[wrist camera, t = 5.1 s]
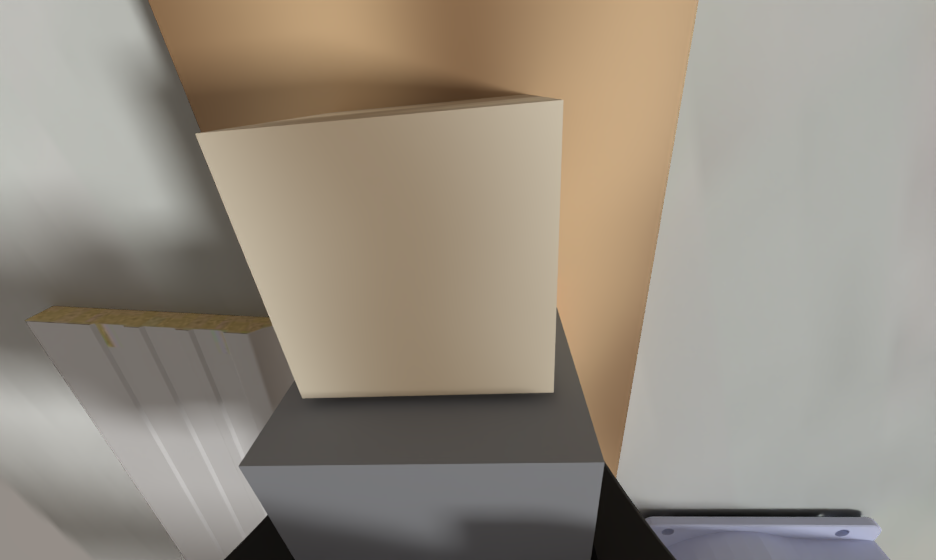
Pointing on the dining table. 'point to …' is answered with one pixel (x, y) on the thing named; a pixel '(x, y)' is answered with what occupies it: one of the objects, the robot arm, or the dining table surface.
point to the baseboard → (176, 408)
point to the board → (474, 77)
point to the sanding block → (433, 474)
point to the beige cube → (403, 243)
